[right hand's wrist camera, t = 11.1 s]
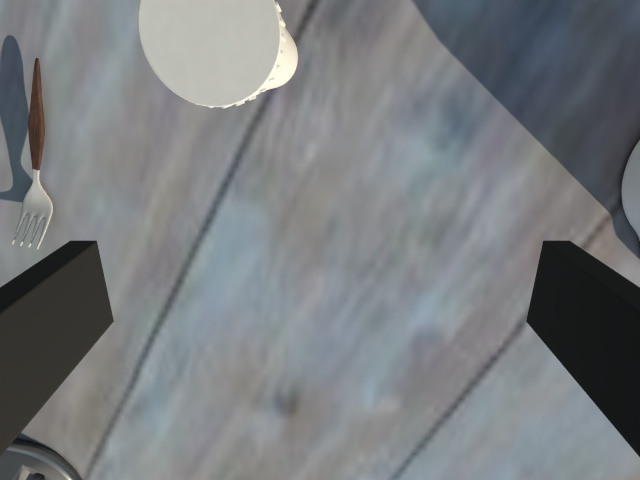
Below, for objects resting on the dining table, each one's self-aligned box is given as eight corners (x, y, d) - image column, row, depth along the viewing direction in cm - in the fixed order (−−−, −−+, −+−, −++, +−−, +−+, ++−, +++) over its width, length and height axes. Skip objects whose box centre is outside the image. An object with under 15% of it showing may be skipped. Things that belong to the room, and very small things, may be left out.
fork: (58, 63, 34) (43, 62, 32) (52, 242, 39) (39, 250, 37) (24, 54, 33) (7, 52, 31) (23, 235, 39) (9, 243, 37)
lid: (187, 120, 18) (171, 126, 16) (134, -14, 17) (109, -27, 15) (302, 84, 18) (300, 86, 16) (262, -58, 16) (254, -77, 14)
